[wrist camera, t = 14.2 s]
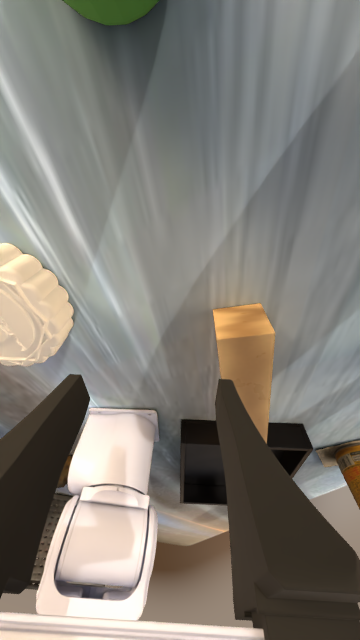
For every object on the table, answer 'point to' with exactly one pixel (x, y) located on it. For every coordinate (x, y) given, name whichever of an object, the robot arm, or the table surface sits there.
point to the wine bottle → (112, 10)
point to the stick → (247, 357)
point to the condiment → (345, 464)
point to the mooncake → (30, 309)
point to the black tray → (207, 465)
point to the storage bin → (45, 542)
